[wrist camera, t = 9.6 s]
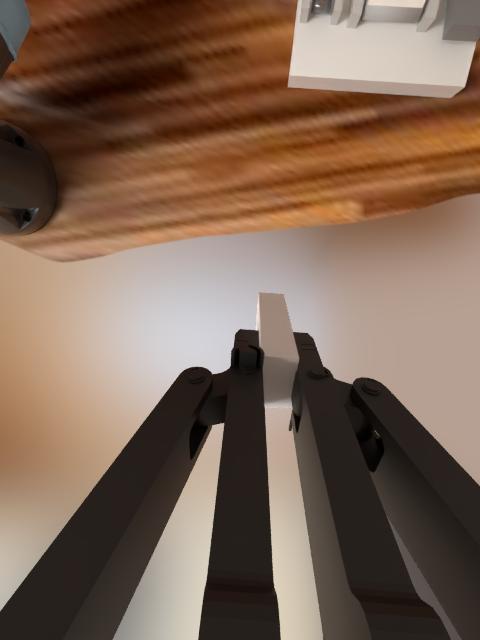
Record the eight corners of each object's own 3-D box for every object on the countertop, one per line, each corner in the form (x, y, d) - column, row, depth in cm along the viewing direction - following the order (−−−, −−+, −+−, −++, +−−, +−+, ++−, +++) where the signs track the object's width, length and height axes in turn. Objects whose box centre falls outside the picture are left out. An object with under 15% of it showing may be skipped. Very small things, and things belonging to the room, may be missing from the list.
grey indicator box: (442, 39, 30) (453, 23, 28) (449, -12, 30) (460, -31, 28) (476, 41, 30) (490, 25, 28) (484, -10, 29) (498, -30, 28)
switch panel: (287, 87, 35) (291, 64, 31) (302, -36, 32) (308, -80, 28) (450, 98, 34) (478, 76, 30) (481, -28, 31) (517, -73, 27)
